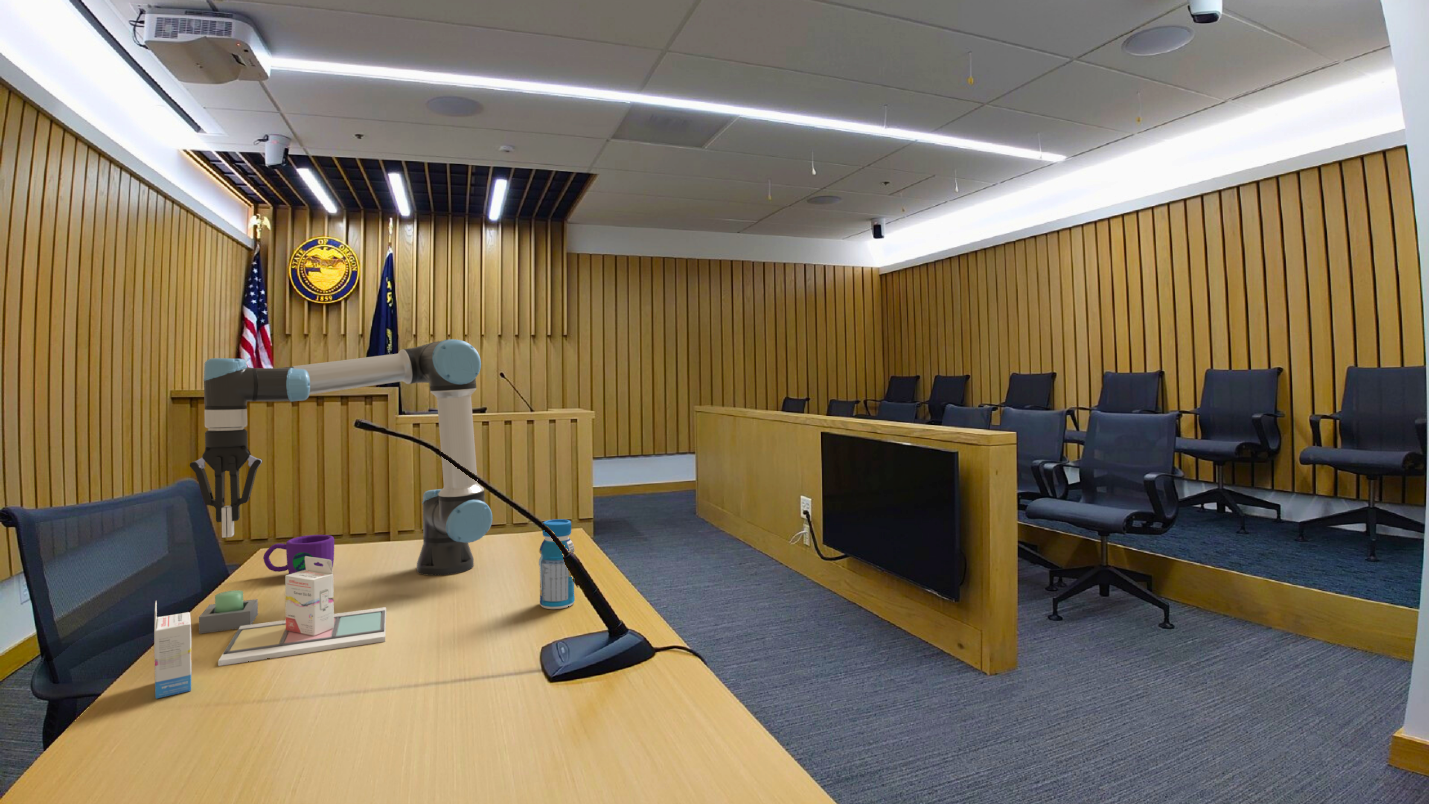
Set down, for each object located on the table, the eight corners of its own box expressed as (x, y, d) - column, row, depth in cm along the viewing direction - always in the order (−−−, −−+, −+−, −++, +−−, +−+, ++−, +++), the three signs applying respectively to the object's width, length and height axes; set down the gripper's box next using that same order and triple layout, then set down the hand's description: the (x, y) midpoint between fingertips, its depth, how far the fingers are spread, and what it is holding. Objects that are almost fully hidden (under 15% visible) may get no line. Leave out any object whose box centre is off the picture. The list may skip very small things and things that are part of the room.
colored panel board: (386, 611, 155) (386, 605, 155) (385, 641, 137) (385, 635, 137) (240, 630, 143) (240, 624, 143) (218, 666, 125) (218, 659, 125)
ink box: (192, 691, 114) (191, 606, 114) (154, 700, 111) (153, 612, 111) (191, 674, 121) (190, 594, 121) (155, 682, 118) (153, 599, 118)
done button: (245, 610, 150) (245, 589, 150) (240, 617, 146) (240, 595, 145) (218, 613, 148) (218, 592, 148) (212, 620, 143) (212, 598, 143)
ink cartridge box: (283, 631, 139) (283, 560, 138) (306, 623, 143) (305, 555, 143) (313, 636, 136) (312, 564, 135) (335, 628, 140) (334, 558, 140)
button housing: (257, 614, 153) (257, 599, 153) (250, 627, 145) (250, 611, 145) (209, 620, 149) (209, 604, 149) (199, 633, 141) (198, 617, 141)
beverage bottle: (549, 612, 154) (549, 526, 154) (532, 603, 160) (532, 521, 160) (581, 605, 160) (581, 522, 159) (564, 596, 166) (564, 516, 165)
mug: (340, 568, 191) (339, 533, 191) (326, 579, 180) (326, 542, 180) (272, 571, 188) (272, 536, 187) (254, 583, 177) (253, 545, 176)
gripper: (265, 427, 152) (267, 530, 153) (193, 428, 146) (195, 535, 147) (259, 429, 145) (261, 536, 146) (183, 430, 139) (185, 542, 140)
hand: (228, 536), depth 146 cm, fingers closed
